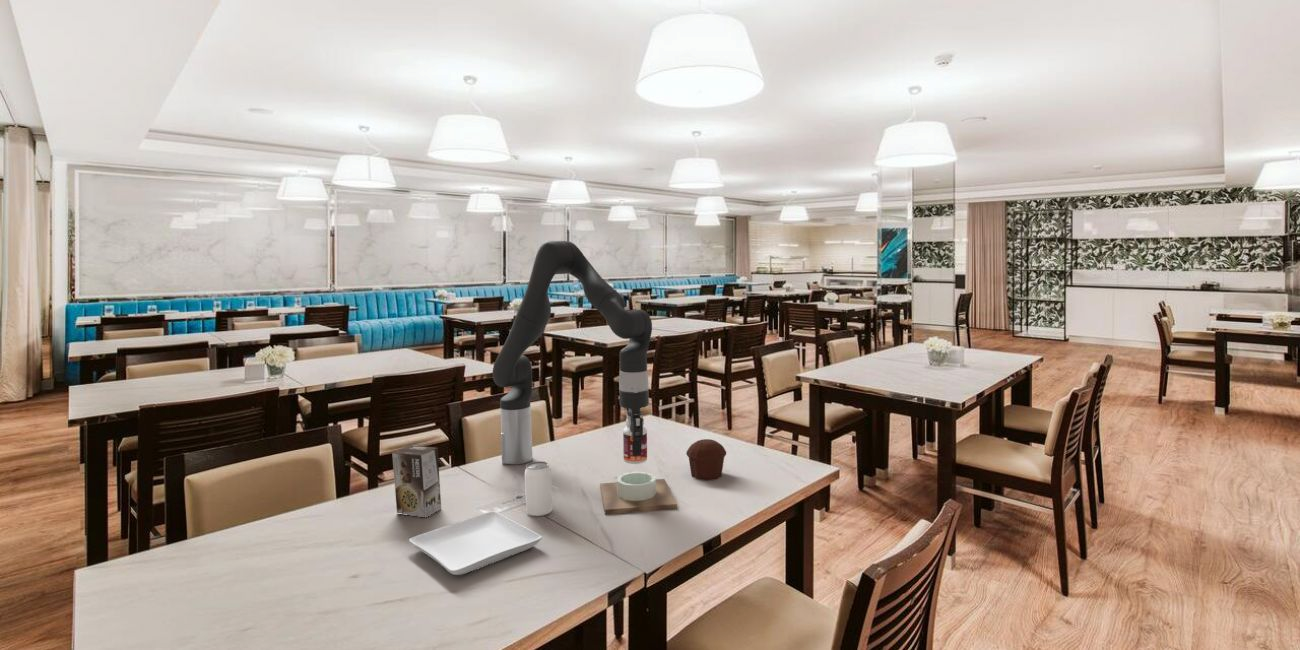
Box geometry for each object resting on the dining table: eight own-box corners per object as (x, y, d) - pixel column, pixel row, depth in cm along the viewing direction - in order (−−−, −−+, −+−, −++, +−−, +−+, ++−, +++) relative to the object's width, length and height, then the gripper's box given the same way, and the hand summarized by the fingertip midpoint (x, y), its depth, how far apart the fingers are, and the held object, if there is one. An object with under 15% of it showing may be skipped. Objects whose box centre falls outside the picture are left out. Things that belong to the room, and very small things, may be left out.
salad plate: (493, 522, 146) (493, 508, 145) (545, 550, 131) (544, 535, 130) (407, 552, 131) (406, 537, 131) (453, 588, 116) (452, 571, 116)
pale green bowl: (619, 502, 152) (619, 486, 152) (615, 487, 162) (615, 473, 162) (658, 499, 154) (658, 483, 153) (652, 484, 164) (652, 470, 163)
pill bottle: (630, 466, 153) (629, 423, 152) (619, 459, 158) (618, 418, 157) (651, 461, 156) (650, 420, 155) (640, 455, 161) (639, 415, 160)
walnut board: (605, 514, 148) (604, 509, 148) (600, 487, 166) (599, 483, 165) (677, 508, 151) (677, 503, 150) (664, 482, 168) (664, 478, 168)
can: (527, 507, 153) (525, 461, 152) (553, 505, 154) (551, 460, 153) (524, 517, 147) (522, 470, 146) (551, 516, 147) (549, 468, 146)
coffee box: (442, 508, 153) (439, 447, 152) (425, 519, 147) (421, 455, 146) (413, 504, 156) (409, 444, 155) (395, 514, 150) (391, 451, 149)
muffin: (701, 484, 166) (701, 449, 165) (678, 473, 176) (678, 440, 175) (734, 476, 173) (734, 442, 172) (710, 465, 182) (710, 433, 181)
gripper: (616, 383, 162) (618, 443, 163) (622, 394, 147) (624, 460, 149) (644, 381, 163) (645, 442, 164) (652, 392, 149) (653, 458, 150)
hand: (635, 450), depth 157 cm, fingers closed on pill bottle, 6 cm apart
